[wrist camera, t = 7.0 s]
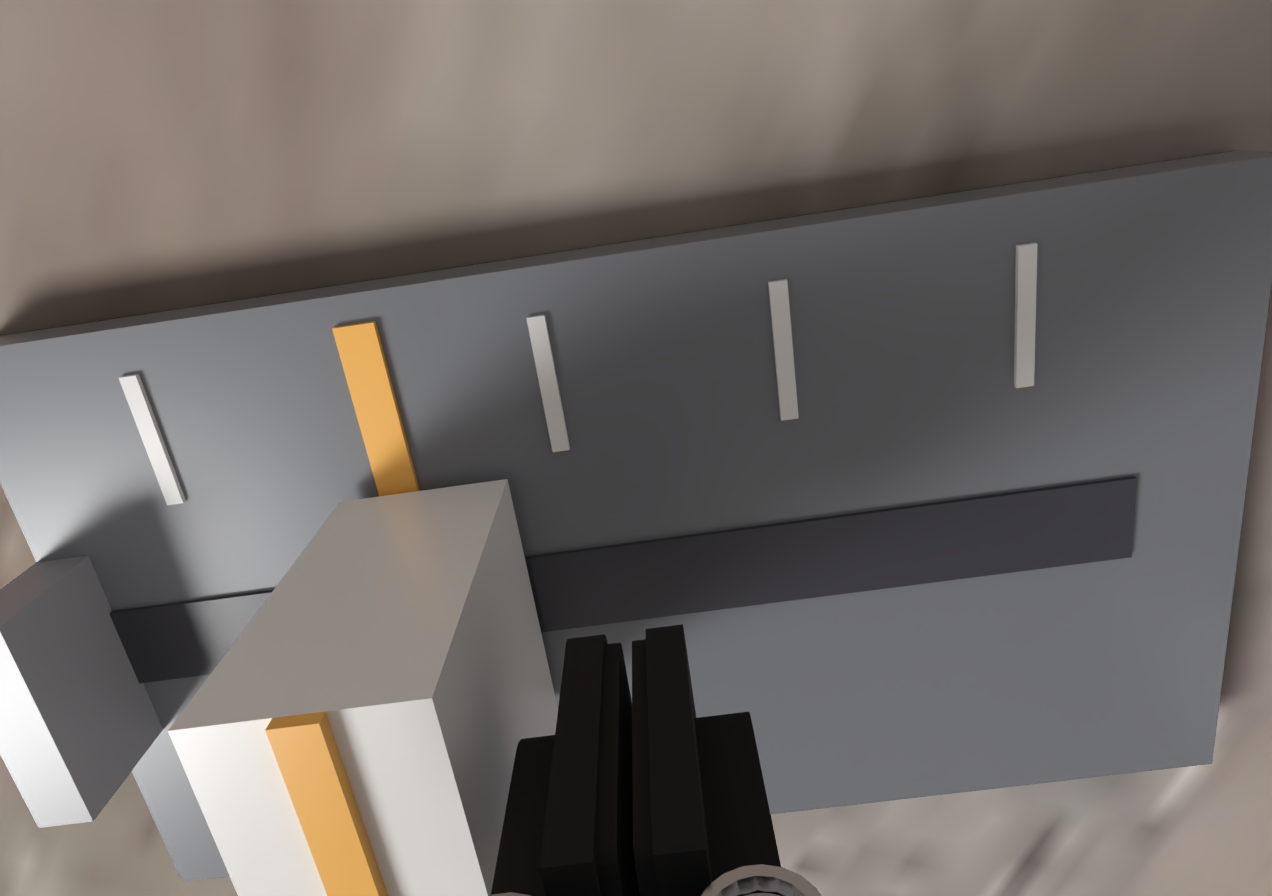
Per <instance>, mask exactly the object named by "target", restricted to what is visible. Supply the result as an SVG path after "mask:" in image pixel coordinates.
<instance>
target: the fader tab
mask: <svg viewBox="0 0 1272 896" xmlns="http://www.w3.org/2000/svg"><path fill="white" fill-rule="evenodd" d="M557 715H558V707H557V702H556V698H555V693H554V689H553V684H552V680H551V675H550V670H549V666H548V661H547V657H546V652H545V648H544V643H543V639H542V634H541V629H540V625H539V620H538V616H537V611H536V607H535V602H534V598H533V593H532V589H531V584H530V579H529V575H528V570H527V566H526V561H525V557H524V552H523V548H522V543H521V538H520V534H519V529H518V525H517V520H516V516H515V511H514V507H513V502H512V498H511V493H510V488H509V484H508V479H503V480H496V481H489V482H481V483H474V484H467V485H459V486H452V487H445V488H437V489H430V490H423V491H415V492H408V493H401V494H394V495H386V496H379V497H372V498H364V499H357V500H350V501H342V502H340V503H339V504H338V505H337V507H336V508H335V509H334V511H333V512H332V513H331V515H330V516H329V517H328V519H327V520H326V521H325V523H324V524H323V525H322V526H321V528H320V529H319V530H318V532H317V533H316V534H315V536H314V537H313V538H312V540H311V541H310V542H309V544H308V545H307V546H306V548H305V549H304V550H303V552H302V553H301V554H300V556H299V557H298V558H297V560H296V561H295V562H294V564H293V565H292V566H291V568H290V569H289V570H288V572H287V573H286V574H285V576H284V577H283V578H282V580H281V581H280V582H279V584H278V585H277V586H276V588H275V589H274V590H273V592H272V593H271V594H270V596H269V597H268V598H267V600H266V601H265V602H264V604H263V605H262V606H261V608H260V609H259V610H258V612H257V613H256V614H255V616H254V617H253V618H252V620H251V621H250V622H249V624H248V625H247V626H246V628H245V629H244V630H243V632H242V633H241V634H240V635H239V637H238V638H237V639H236V641H235V642H234V643H233V645H232V646H231V647H230V649H229V650H228V651H227V653H226V654H225V655H224V657H223V658H222V659H221V661H220V662H219V663H218V665H217V666H216V667H215V669H214V670H213V671H212V673H211V674H210V675H209V677H208V678H207V679H206V681H205V682H204V683H203V685H202V686H201V687H200V689H199V690H198V691H197V693H196V694H195V695H194V697H193V698H192V699H191V701H190V702H189V703H188V705H187V706H186V707H185V709H184V710H183V711H182V713H181V714H180V715H179V717H178V718H177V719H176V721H175V722H174V723H173V725H172V726H171V727H170V729H169V730H168V733H169V735H170V738H171V740H172V742H173V745H174V747H175V749H176V752H177V754H178V756H179V759H180V761H181V763H182V766H183V768H184V770H185V773H186V775H187V777H188V780H189V782H190V785H191V787H192V789H193V792H194V794H195V796H196V799H197V801H198V803H199V806H200V808H201V810H202V813H203V815H204V817H205V820H206V822H207V824H208V827H209V829H210V831H211V834H212V836H213V838H214V841H215V843H216V845H217V848H218V850H219V852H220V855H221V857H222V859H223V862H224V864H225V866H226V869H227V871H228V873H229V876H230V878H231V880H232V883H233V885H234V887H235V890H236V892H237V894H238V896H490V895H491V890H492V885H493V879H494V873H495V868H496V862H497V856H498V851H499V845H500V839H501V834H502V828H503V822H504V817H505V811H506V805H507V800H508V794H509V788H510V782H511V777H512V771H513V765H514V760H515V754H516V749H517V746H518V742H519V741H520V740H521V739H525V738H533V737H541V736H550V735H555V732H556V723H557Z"/></svg>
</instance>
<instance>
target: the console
mask: <svg viewBox="0 0 1272 896" xmlns="http://www.w3.org/2000/svg"><path fill="white" fill-rule="evenodd" d="M1271 283H1272V153H1268V152H1253V151H1230V152H1223V153H1217V154H1210V155H1203V156H1197V157H1190V158H1183V159H1177V160H1170V161H1163V162H1157V163H1150V164H1143V165H1137V166H1130V167H1123V168H1117V169H1110V170H1103V171H1097V172H1090V173H1083V174H1077V175H1070V176H1063V177H1057V178H1050V179H1043V180H1037V181H1030V182H1023V183H1017V184H1010V185H1003V186H997V187H990V188H983V189H977V190H970V191H963V192H957V193H950V194H943V195H937V196H930V197H923V198H917V199H910V200H903V201H897V202H890V203H883V204H877V205H870V206H863V207H857V208H850V209H843V210H837V211H830V212H823V213H817V214H810V215H803V216H797V217H790V218H783V219H777V220H770V221H763V222H757V223H750V224H743V225H737V226H730V227H723V228H717V229H710V230H703V231H697V232H690V233H683V234H677V235H670V236H663V237H657V238H650V239H643V240H637V241H630V242H623V243H617V244H610V245H603V246H597V247H590V248H583V249H577V250H570V251H563V252H557V253H550V254H543V255H537V256H530V257H523V258H517V259H510V260H503V261H497V262H490V263H483V264H477V265H470V266H463V267H457V268H450V269H443V270H437V271H430V272H423V273H417V274H410V275H403V276H397V277H390V278H383V279H377V280H370V281H363V282H357V283H350V284H343V285H337V286H330V287H323V288H317V289H310V290H303V291H297V292H290V293H283V294H277V295H270V296H263V297H257V298H250V299H243V300H237V301H230V302H223V303H217V304H210V305H203V306H197V307H190V308H183V309H177V310H170V311H163V312H157V313H150V314H143V315H137V316H130V317H123V318H117V319H110V320H103V321H97V322H90V323H83V324H77V325H70V326H63V327H57V328H50V329H43V330H37V331H30V332H23V333H17V334H10V335H3V336H0V483H1V485H2V488H3V490H4V492H5V494H6V496H7V499H8V501H9V503H10V505H11V507H12V510H13V512H14V514H15V516H16V518H17V521H18V523H19V525H20V527H21V529H22V532H23V534H24V536H25V538H26V540H27V543H28V545H29V547H30V549H31V551H32V553H33V556H34V558H35V560H36V563H35V564H34V565H33V566H31V567H30V568H29V569H27V570H26V571H25V572H23V573H22V574H21V575H19V576H18V577H17V578H15V579H14V580H13V581H11V582H10V583H9V584H7V585H6V586H5V587H3V588H2V589H1V590H0V755H1V757H2V759H3V760H4V762H5V764H6V766H7V768H8V770H9V772H10V774H11V776H12V778H13V780H14V782H15V783H16V785H17V787H18V789H19V791H20V793H21V795H22V797H23V799H24V801H25V803H26V805H27V806H28V808H29V810H30V812H31V814H32V816H33V818H34V820H35V822H36V824H37V826H38V828H42V827H50V826H59V825H67V824H75V823H84V822H92V821H94V820H95V818H96V817H97V816H98V814H99V813H100V812H101V810H102V809H103V808H104V806H105V805H106V804H107V803H108V801H109V800H110V799H111V797H112V796H113V795H114V793H115V792H116V791H117V789H118V788H119V787H120V785H121V784H122V783H123V782H124V780H125V779H126V778H127V776H128V775H129V774H130V772H131V771H132V773H133V775H134V777H135V779H136V782H137V784H138V786H139V788H140V790H141V792H142V795H143V797H144V799H145V801H146V803H147V806H148V808H149V810H150V812H151V814H152V817H153V819H154V821H155V823H156V825H157V828H158V830H159V832H160V834H161V836H162V839H163V841H164V843H165V845H166V847H167V849H168V852H169V854H170V856H171V858H172V860H173V863H174V865H175V867H176V869H177V871H178V874H179V876H180V878H181V880H182V882H184V881H193V880H201V879H210V878H219V877H228V876H229V873H228V871H227V869H226V866H225V864H224V862H223V859H222V857H221V855H220V852H219V850H218V848H217V845H216V843H215V841H214V838H213V836H212V834H211V831H210V829H209V827H208V824H207V822H206V820H205V817H204V815H203V813H202V810H201V808H200V806H199V803H198V801H197V799H196V796H195V794H194V792H193V789H192V787H191V785H190V782H189V780H188V777H187V775H186V773H185V770H184V768H183V766H182V763H181V761H180V759H179V756H178V754H177V752H176V749H175V747H174V745H173V742H172V740H171V738H170V735H169V733H168V730H169V729H170V727H171V726H172V725H173V723H174V722H175V721H176V719H177V718H178V717H179V715H180V714H181V713H182V711H183V710H184V709H185V707H186V706H187V705H188V703H189V702H190V701H191V699H192V698H193V697H194V695H195V694H196V693H197V691H198V690H199V689H200V687H201V686H202V685H203V683H204V682H205V681H206V679H207V678H208V677H209V675H210V674H211V673H212V671H213V670H214V669H215V667H216V666H217V665H218V663H219V662H220V661H221V659H222V658H223V657H224V655H225V654H226V653H227V651H228V650H229V649H230V647H231V646H232V645H233V643H234V642H235V641H236V639H237V638H238V637H239V635H240V634H241V633H242V632H243V630H244V629H245V628H246V626H247V625H248V624H249V622H250V621H251V620H252V618H253V617H254V616H255V614H256V613H257V612H258V610H259V609H260V608H261V606H262V605H263V604H264V602H265V601H266V600H267V598H268V597H269V596H270V594H271V593H272V592H273V590H274V589H275V588H276V586H277V585H278V584H279V582H280V581H281V580H282V578H283V577H284V576H285V574H286V573H287V572H288V570H289V569H290V568H291V566H292V565H293V564H294V562H295V561H296V560H297V558H298V557H299V556H300V554H301V553H302V552H303V550H304V549H305V548H306V546H307V545H308V544H309V542H310V541H311V540H312V538H313V537H314V536H315V534H316V533H317V532H318V530H319V529H320V528H321V526H322V525H323V524H324V523H325V521H326V520H327V519H328V517H329V516H330V515H331V513H332V512H333V511H334V509H335V508H336V507H337V505H338V504H339V503H340V502H342V501H350V500H357V499H364V498H372V497H379V496H386V495H394V494H401V493H408V492H415V491H423V490H430V489H437V488H445V487H452V486H459V485H467V484H474V483H481V482H489V481H496V480H503V479H508V484H509V488H510V493H511V498H512V502H513V507H514V511H515V516H516V520H517V525H518V529H519V534H520V538H521V543H522V548H523V552H524V557H525V561H526V566H527V570H528V575H529V579H530V584H531V589H532V593H533V598H534V602H535V607H536V611H537V616H538V620H539V625H540V629H541V634H542V639H543V643H544V648H545V652H546V657H547V661H548V666H549V670H550V675H551V680H552V684H553V689H554V693H555V698H556V702H557V707H558V706H559V698H560V689H561V681H562V672H563V664H564V655H565V647H566V641H567V639H570V638H578V637H586V636H594V635H602V634H605V635H606V638H607V642H608V644H612V643H621V645H622V649H623V654H624V660H625V666H626V672H627V677H628V683H629V689H630V694H631V700H632V641H636V640H644V639H646V629H649V628H657V627H665V626H673V625H681V624H683V628H684V634H685V641H686V648H687V655H688V662H689V669H690V676H691V683H692V690H693V697H694V704H695V711H696V718H699V717H707V716H716V715H724V714H732V713H741V712H750V716H751V720H752V725H753V730H754V735H755V740H756V745H757V750H758V755H759V760H760V765H761V770H762V775H763V780H764V785H765V790H766V795H767V800H768V805H769V810H770V814H777V813H786V812H794V811H803V810H812V809H821V808H829V807H838V806H847V805H855V804H864V803H873V802H882V801H890V800H899V799H908V798H917V797H925V796H934V795H943V794H951V793H960V792H969V791H978V790H986V789H995V788H1004V787H1012V786H1021V785H1030V784H1039V783H1047V782H1056V781H1065V780H1073V779H1082V778H1091V777H1100V776H1108V775H1117V774H1126V773H1135V772H1143V771H1152V770H1161V769H1169V768H1178V767H1187V766H1196V765H1204V764H1212V760H1213V752H1214V744H1215V736H1216V727H1217V719H1218V711H1219V703H1220V695H1221V687H1222V679H1223V671H1224V663H1225V655H1226V647H1227V639H1228V631H1229V623H1230V614H1231V606H1232V598H1233V590H1234V582H1235V574H1236V566H1237V558H1238V550H1239V542H1240V534H1241V526H1242V518H1243V510H1244V501H1245V493H1246V485H1247V477H1248V469H1249V461H1250V453H1251V445H1252V437H1253V429H1254V421H1255V413H1256V405H1257V396H1258V388H1259V380H1260V372H1261V364H1262V356H1263V348H1264V340H1265V332H1266V324H1267V316H1268V308H1269V300H1270V292H1271Z"/></svg>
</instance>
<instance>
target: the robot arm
mask: <svg viewBox="0 0 1272 896" xmlns="http://www.w3.org/2000/svg"><path fill="white" fill-rule="evenodd" d="M490 896H821V894H820V893H819V891H818V890H817V888H816V887H814V886H813V885H812V884H811V883H810V882H808V881H807V880H806V879H805V878H804V877H802V876H801V875H799V874H797V873H794V872H792V871H790V870H788V869H785V868H783V867H781V865H780V860H779V855H778V850H777V845H776V840H775V835H774V830H773V825H772V820H771V815H770V810H769V805H768V800H767V795H766V790H765V785H764V780H763V775H762V770H761V765H760V760H759V755H758V750H757V745H756V740H755V735H754V730H753V725H752V720H751V716H750V712H741V713H732V714H724V715H716V716H707V717H699V718H696V711H695V704H694V697H693V690H692V683H691V676H690V669H689V662H688V655H687V648H686V641H685V634H684V628H683V624H681V625H673V626H665V627H657V628H649V629H646V639H644V640H636V641H632V700H631V694H630V689H629V683H628V677H627V672H626V666H625V660H624V654H623V649H622V645H621V643H612V644H608V642H607V638H606V635H605V634H602V635H594V636H586V637H578V638H570V639H567V641H566V647H565V655H564V664H563V672H562V681H561V689H560V698H559V706H558V715H557V723H556V732H555V735H550V736H541V737H533V738H525V739H521V740H520V741H519V742H518V746H517V749H516V754H515V760H514V765H513V771H512V777H511V782H510V788H509V794H508V800H507V805H506V811H505V817H504V822H503V828H502V834H501V839H500V845H499V851H498V856H497V862H496V868H495V873H494V879H493V885H492V890H491V895H490Z"/></svg>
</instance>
